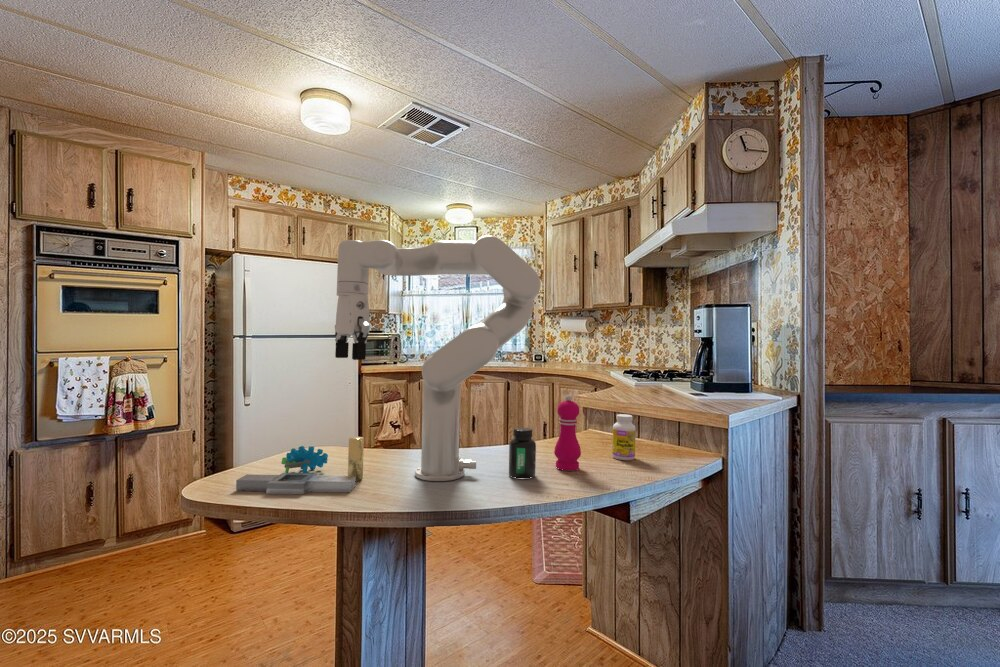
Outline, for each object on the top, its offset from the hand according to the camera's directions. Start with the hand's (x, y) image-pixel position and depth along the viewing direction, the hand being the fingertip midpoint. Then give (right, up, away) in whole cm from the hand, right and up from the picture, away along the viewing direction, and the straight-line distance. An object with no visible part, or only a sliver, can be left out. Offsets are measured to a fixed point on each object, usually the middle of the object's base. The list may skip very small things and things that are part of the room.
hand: (349, 358), depth 118 cm
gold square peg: (+2, -29, -3) cm, 30 cm away
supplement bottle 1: (+43, -30, +3) cm, 53 cm away
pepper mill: (+56, -31, +11) cm, 65 cm away
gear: (-12, -29, +1) cm, 32 cm away
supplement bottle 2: (+75, -31, +23) cm, 84 cm away
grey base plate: (-9, -29, -11) cm, 32 cm away
